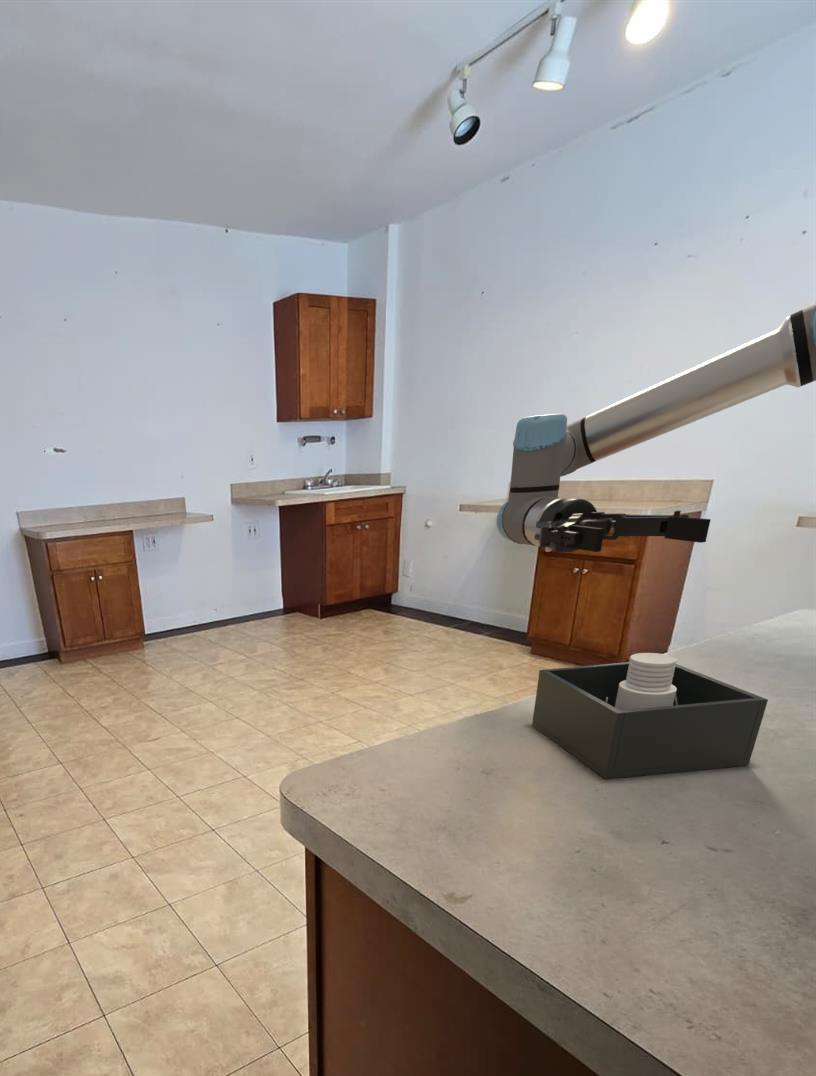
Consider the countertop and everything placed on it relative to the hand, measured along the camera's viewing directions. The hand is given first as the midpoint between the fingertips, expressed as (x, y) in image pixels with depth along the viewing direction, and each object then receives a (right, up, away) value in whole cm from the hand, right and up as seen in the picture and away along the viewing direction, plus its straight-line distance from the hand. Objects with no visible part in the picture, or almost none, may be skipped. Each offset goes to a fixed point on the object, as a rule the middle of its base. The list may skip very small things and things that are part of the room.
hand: (652, 535), depth 79 cm
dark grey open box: (-3, -26, -1) cm, 26 cm away
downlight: (-3, -25, -1) cm, 26 cm away
